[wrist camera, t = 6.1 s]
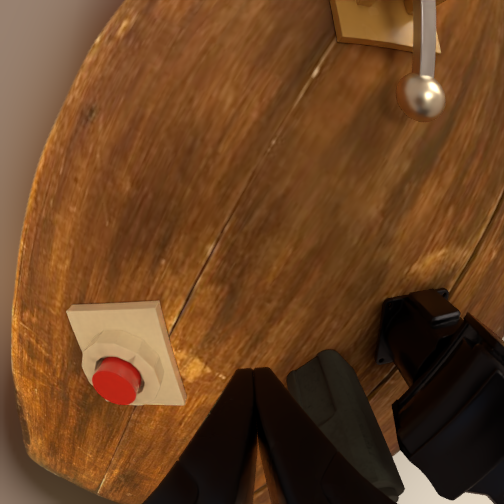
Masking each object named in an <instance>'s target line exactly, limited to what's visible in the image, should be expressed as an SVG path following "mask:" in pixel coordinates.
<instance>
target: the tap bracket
mask: <svg viewBox="0 0 504 504" xmlns="http://www.w3.org/2000/svg"><path fill="white" fill-rule="evenodd" d="M329 1H330V5H331V10H332V15H333V20H334V25H335V31H336V36H337V42H343V43H354V44H363V45H371V46H379V47H386V48H392V49H398V50H403V51H409V52H413V0H329ZM444 1H446V0H436V6H437V5H439V4H440V3H442V2H444ZM439 54H441V50H440V45H439V41H438V37H437V32H436V52H435V56H436V55H439Z"/></svg>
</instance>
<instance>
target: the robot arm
mask: <svg viewBox="0 0 504 504" xmlns="http://www.w3.org/2000/svg"><path fill="white" fill-rule="evenodd" d="M443 293H444V294H443ZM442 294H443V295H442ZM448 294H449V292H448V290H446V289H445V288H440V289H435V290H434V289H429V290H423V291H418V292H413V293H409V294H408V295H403V296H397V297H391V298H387V299H386V300H385V301H384V302H383V305H382V314H381V321H380V329H379V336H378V342H377V348H376V354H375V361H376V363H377V364H378V365H381V364H385V363H390V362H394V364H395V365H396V367H397V369H398V370H399V372H400V373H401V375H402V377H403V378H404V380H405V381H406V383H407V385H408V386H409V389H408V390H407V391H406V392H405V393H404V394H403V395H402V396H401V397H400V398H399V399H398V400H396V401H395V402H394V403H393V404H392V410H393V416H394V421H395V427H396V434H397V440H398V444H399V448H400V450H401V451H402V452H403V454H404V455H405V456H406V457H407V458H408V460H409V461H410V462H411V463H413V464H414V465H415V466H416V467H418V468H419V469H420V470H421V471H422V472H423V473H424V474H425V475H426V477H427V478H428V479H429V481H430V482H431V484H432V485H433V487H434V488H435V490H436V492H437V493H438V494H439V495H440V496H442V497H444V498H446V499H449V500H455V499H456V498H458V497H459V496H461V495H462V494H463V493H465V492H468V493H474V494H480V495H486V496H488V498H489V499H490V500H491V501H492V502H493V503H494V504H504V341H503V340H502V339H501V338H500V337H498V336H497V335H496V334H495V333H494V332H493V331H492V330H490V329H489V328H488V327H487V326H485V325H484V324H483V323H481V322H480V321H479V320H478V319H476V318H475V317H474V316H472V315H471V314H470V313H467V314H466V315H465V317H464V318H463V319H464V320H463V319H462V318H461V317H460V312H459V310H458V309H457V308H455V307H454V306H453V305H452V304H451V303H450V302H449V301H447V299H448ZM389 303H391V304H390V306H388V304H389ZM381 358H382V359H381ZM253 375H254V377H253ZM257 435H258V440H257ZM258 445H259V450H260V455H261V460H262V464H263V469H264V473H265V478H266V482H267V486H268V491H269V495H270V499H271V504H397V503H396V502H394V501H393V500H392V499H390V498H389V497H388V496H386V495H385V494H384V493H383V492H381V491H380V490H379V489H377V488H376V487H375V486H374V485H373V484H371V483H370V482H369V481H368V480H367V479H366V478H364V477H363V476H362V475H361V474H360V473H359V472H358V471H357V470H356V469H355V468H354V467H353V466H352V465H351V464H350V463H349V462H348V461H347V459H346V458H345V457H344V456H343V455H342V454H341V453H340V452H339V451H337V448H336V447H335V446H334V445H333V444H332V443H331V442H330V440H329V439H328V438H327V437H326V436H325V435H324V433H323V432H322V431H321V430H320V429H319V428H318V426H317V425H316V424H315V423H314V422H313V421H312V419H311V418H310V417H309V416H308V415H307V413H306V412H305V411H304V410H303V409H302V407H301V406H300V405H299V404H298V403H297V401H296V400H295V399H294V398H293V396H292V395H291V394H290V393H289V391H288V390H287V389H286V388H285V387H284V385H283V384H282V383H281V382H280V380H279V379H278V378H277V376H276V375H275V374H274V373H273V371H272V370H271V369H270V368H269V367H261V368H254V370H253V369H251V368H244V369H237V370H236V371H235V373H234V375H233V376H232V378H231V379H230V381H229V383H228V384H227V386H226V387H225V389H224V390H223V392H222V394H221V395H220V397H219V398H218V400H217V401H216V403H215V404H214V406H213V408H212V409H211V411H210V412H209V414H208V415H207V417H206V418H205V420H204V421H203V423H202V424H201V426H200V427H199V429H198V430H197V432H196V433H195V435H194V436H193V438H192V439H191V441H190V442H189V444H188V445H187V447H186V448H185V450H184V451H183V453H182V454H181V456H180V457H179V461H176V463H175V464H174V465H173V467H172V468H171V470H170V471H169V473H168V474H167V475H166V477H165V478H164V479H163V480H162V482H161V483H160V484H159V486H158V487H157V488H156V489H155V490H154V491H153V492H152V493H151V495H150V496H149V497H148V498H147V499H146V500H145V501H144V502H143V503H142V504H253V494H254V483H255V472H256V461H257V446H258Z"/></svg>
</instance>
